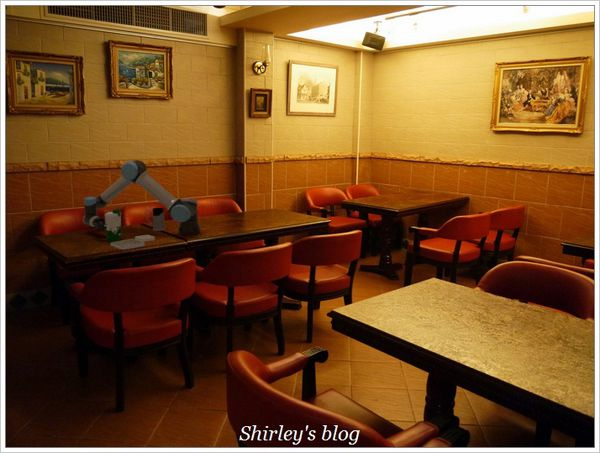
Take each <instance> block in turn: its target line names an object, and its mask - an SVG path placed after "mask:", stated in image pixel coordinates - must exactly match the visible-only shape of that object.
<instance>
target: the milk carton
mask: <svg viewBox="0 0 600 453" xmlns="http://www.w3.org/2000/svg"><path fill="white" fill-rule="evenodd" d="M104 220H105V224H106V226H110V231H108V230H105V236H106V242H107V241H108V242H107V243H109V242H110V243H111V242H116V241H122V240H121V239H123V238H122V237H123V236H122V233H123V232H122V212H121V211H120V209H119V208H117V209H112V211H108V212H106V213H104Z"/></svg>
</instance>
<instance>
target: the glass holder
mask: <svg viewBox="0 0 600 453" xmlns="http://www.w3.org/2000/svg"><path fill="white" fill-rule="evenodd" d="M147 211H149V212H150V216H151V217H152V222H151V221H150V220H149V218H148V216H147ZM145 217H146V220H147V221H148V222H149V223H150V224H151V225H152V227H153V228H152V231H156V232H161V231H165V230H166V227H165V225H166V224H165V223H166V222H165V208H164V207H153V208H152V211H151V210H150V209H146V210H145Z"/></svg>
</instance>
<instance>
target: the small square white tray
mask: <svg viewBox="0 0 600 453" xmlns="http://www.w3.org/2000/svg"><path fill="white" fill-rule="evenodd" d="M134 239H135V240H138V241H141V242H144V243H145V242H151V241H156V237H155V236H153V235H149V234H144V235H138V236H134Z"/></svg>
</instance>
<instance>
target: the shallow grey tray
mask: <svg viewBox="0 0 600 453" xmlns="http://www.w3.org/2000/svg"><path fill="white" fill-rule="evenodd" d="M145 244H146V243H145V242H141V241H138V240H135V238H129V239H123V240H120V241H116V242H110V246H111V247H113V246H114V248H116V249H119V250H122V251H124V250H129V249H135V248H140V247H141V248H142V247H145V246H146V245H145Z"/></svg>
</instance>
